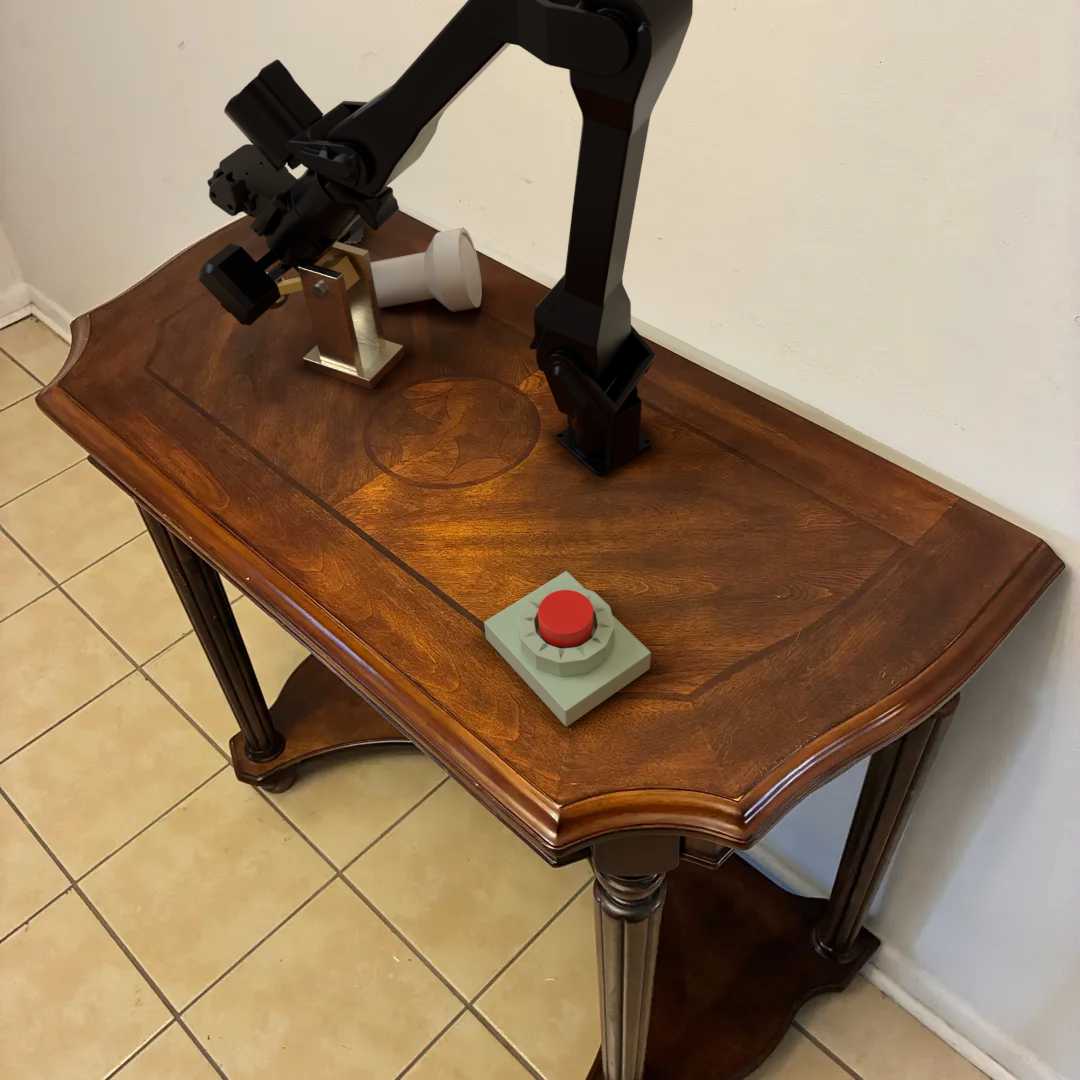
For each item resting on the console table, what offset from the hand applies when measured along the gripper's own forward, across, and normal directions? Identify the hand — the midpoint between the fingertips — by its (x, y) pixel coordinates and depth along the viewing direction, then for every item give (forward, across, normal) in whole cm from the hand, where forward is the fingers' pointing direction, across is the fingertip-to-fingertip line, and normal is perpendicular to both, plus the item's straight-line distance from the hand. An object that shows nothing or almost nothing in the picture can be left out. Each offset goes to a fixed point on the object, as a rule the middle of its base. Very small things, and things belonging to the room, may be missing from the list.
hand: (255, 282), depth 98 cm
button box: (-28, +22, +37) cm, 51 cm away
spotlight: (-5, -12, +14) cm, 18 cm away
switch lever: (-5, 0, +5) cm, 7 cm away
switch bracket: (-3, 0, +12) cm, 12 cm away
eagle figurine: (+9, -18, 0) cm, 20 cm away
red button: (-30, +22, +34) cm, 51 cm away
